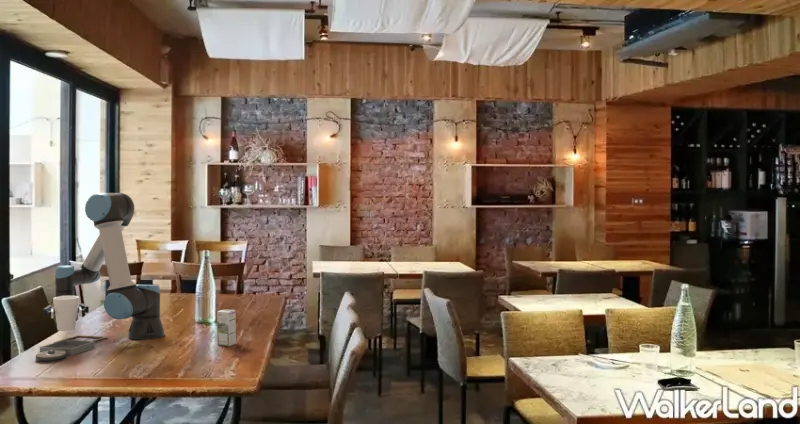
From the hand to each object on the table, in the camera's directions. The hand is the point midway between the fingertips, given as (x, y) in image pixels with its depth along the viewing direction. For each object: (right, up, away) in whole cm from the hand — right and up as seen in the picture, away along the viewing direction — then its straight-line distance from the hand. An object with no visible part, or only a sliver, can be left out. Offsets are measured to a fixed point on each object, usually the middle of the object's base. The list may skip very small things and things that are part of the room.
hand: (66, 314), depth 280 cm
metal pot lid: (-1, -16, -10) cm, 19 cm away
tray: (-2, -15, +4) cm, 16 cm away
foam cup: (-2, -7, +4) cm, 8 cm away
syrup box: (+60, -15, +17) cm, 64 cm away
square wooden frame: (-4, -15, +21) cm, 26 cm away
